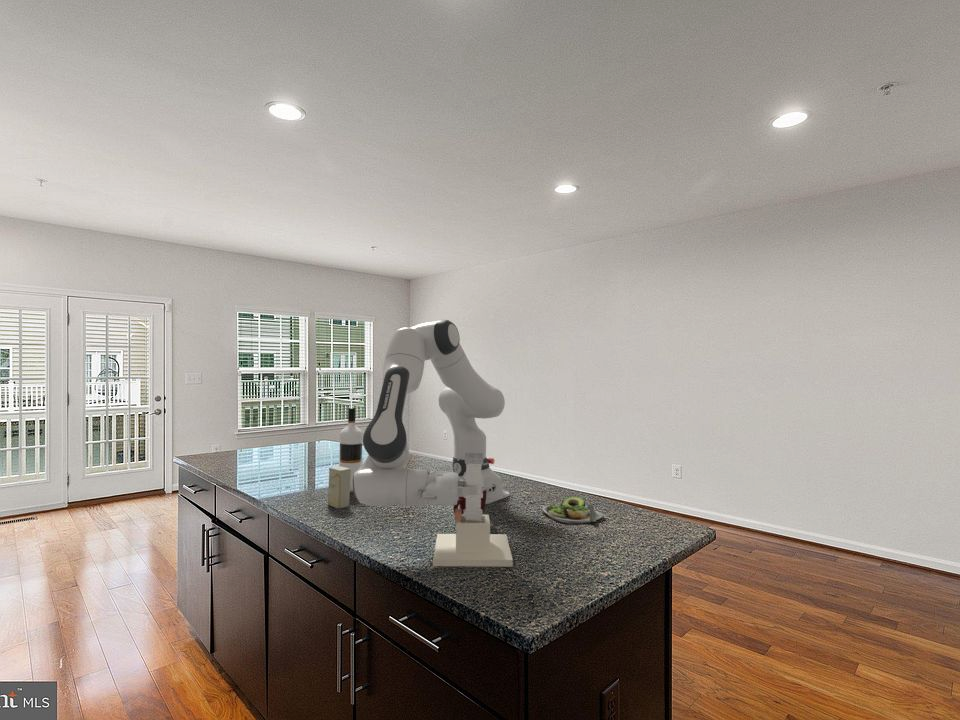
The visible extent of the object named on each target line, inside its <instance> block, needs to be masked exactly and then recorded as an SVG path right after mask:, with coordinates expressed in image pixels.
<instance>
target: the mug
mask: <svg viewBox="0 0 960 720" xmlns="http://www.w3.org/2000/svg"><path fill="white" fill-rule="evenodd" d="M481 491H483V498H481V509H482V511H483V514H484V512H485V507H486V504H485V503H486V488H485V487H482V486H481ZM452 509H453V514H454V515H455V509H462V513H461V514H464V509H466V498H464V497H459V500H457V505H453V508H452Z"/></svg>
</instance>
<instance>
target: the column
mask: <svg viewBox="0 0 960 720" xmlns="http://www.w3.org/2000/svg"><path fill="white" fill-rule="evenodd" d="M465 464H466V472H464V479H466V487H470V486H476V487H477V495H468V496H464V498H466V509H464V516H463V517H465V523H480V520H481V517H483V515H484V513H483V511H482V509H481V498H483V491H481V479H483V473H481V464H483V453H465Z"/></svg>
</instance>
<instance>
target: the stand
mask: <svg viewBox="0 0 960 720" xmlns="http://www.w3.org/2000/svg"><path fill="white" fill-rule="evenodd" d="M461 513H462V509H460V508H458V509H455V514H454V521H455V522H456V523H455V533H437V534H436V541H435V545H434V552H433V558H432V567H495V568H496V567H498V568H499V567H504V568H505V567H506V568H507V567H511V568H512V567H514V566H513V565H514V561H513V560H514V559H513V554H512V552H511V548H510V545H509V544H510V543H509V540H508V536H507V534H506V533H505V534H504V533H503V534H501V533H497V534H495V533H491V522H490V516H489V515H490V514H483V517H481V520H480V523H465V517H463V516H464V514H461Z"/></svg>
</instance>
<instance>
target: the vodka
mask: <svg viewBox="0 0 960 720" xmlns="http://www.w3.org/2000/svg"><path fill="white" fill-rule="evenodd" d="M347 417H348V418H347V420H348V421H347V426H346V427H344V428H343V429H341V431H340V432H339V457H338V458H339V461H338V466H341V467H346V468H349V469H351V475H350V493H354V490H353V475H354V473H355V472H356V471H357V470H358V469H359V468H360V467H361V466H362V464H363V435H364V432H363V430H362V429H361V428H359V427H358V426H357V425H356V407H348V412H347Z"/></svg>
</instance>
